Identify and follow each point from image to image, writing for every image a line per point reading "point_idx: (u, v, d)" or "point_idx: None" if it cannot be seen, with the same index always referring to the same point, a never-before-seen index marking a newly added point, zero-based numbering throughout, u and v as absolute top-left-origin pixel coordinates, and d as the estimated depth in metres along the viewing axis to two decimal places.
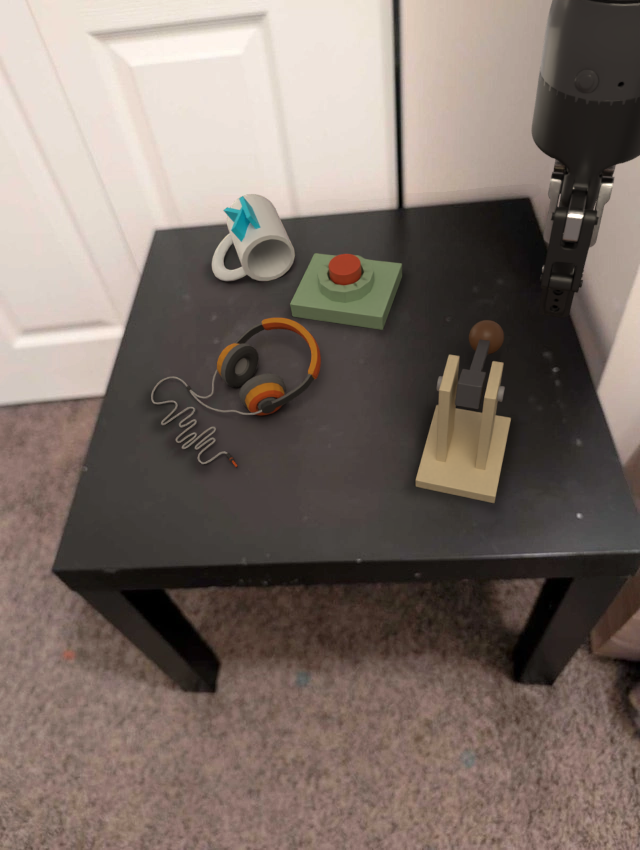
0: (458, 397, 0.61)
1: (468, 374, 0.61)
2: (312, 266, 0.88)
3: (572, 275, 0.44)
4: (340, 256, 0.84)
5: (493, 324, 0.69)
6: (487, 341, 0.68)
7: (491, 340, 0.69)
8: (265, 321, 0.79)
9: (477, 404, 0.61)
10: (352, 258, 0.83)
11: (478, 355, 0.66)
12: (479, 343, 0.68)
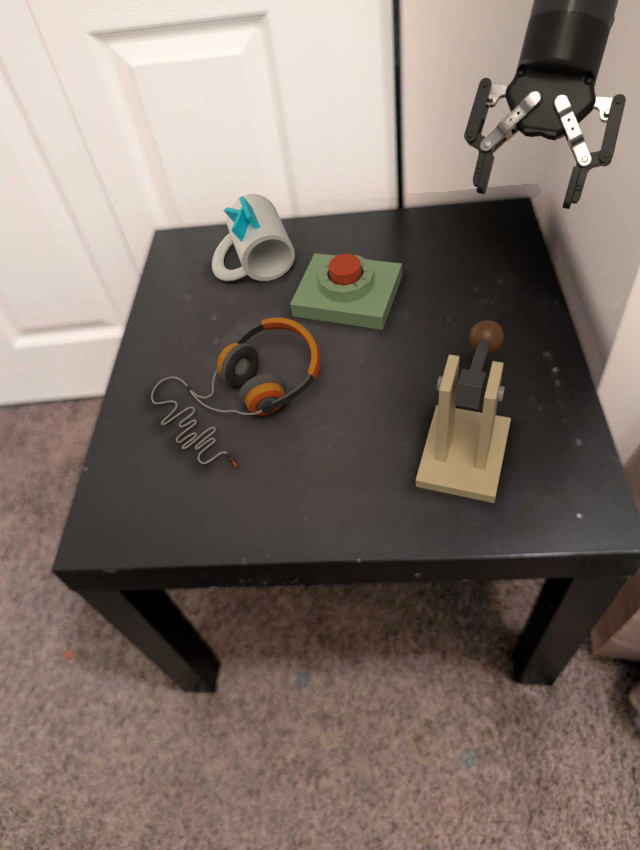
0: (458, 397, 0.61)
1: (468, 374, 0.61)
2: (312, 266, 0.88)
3: None
4: (340, 256, 0.84)
5: (493, 324, 0.69)
6: (487, 341, 0.68)
7: (491, 340, 0.69)
8: (265, 321, 0.79)
9: (477, 404, 0.61)
10: (352, 258, 0.83)
11: (478, 355, 0.66)
12: (479, 343, 0.68)
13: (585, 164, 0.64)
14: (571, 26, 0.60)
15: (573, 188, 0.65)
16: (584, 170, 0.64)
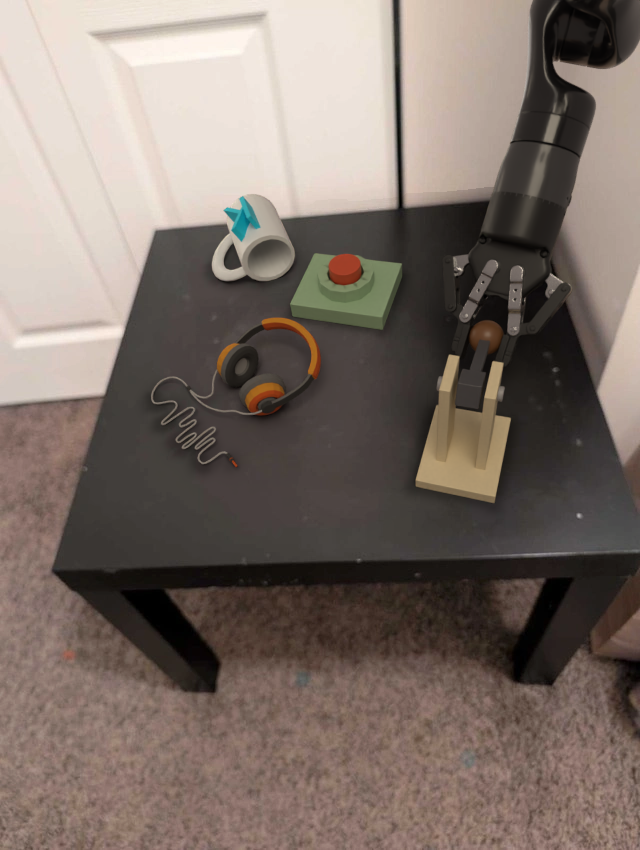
0: (458, 397, 0.61)
1: (468, 374, 0.61)
2: (312, 266, 0.88)
3: None
4: (340, 256, 0.84)
5: (493, 324, 0.69)
6: (487, 341, 0.68)
7: (491, 340, 0.69)
8: (265, 321, 0.79)
9: (477, 404, 0.61)
10: (352, 258, 0.83)
11: (478, 355, 0.66)
12: (479, 343, 0.68)
13: (511, 334, 0.68)
14: (525, 208, 0.64)
15: (502, 354, 0.69)
16: (513, 338, 0.69)
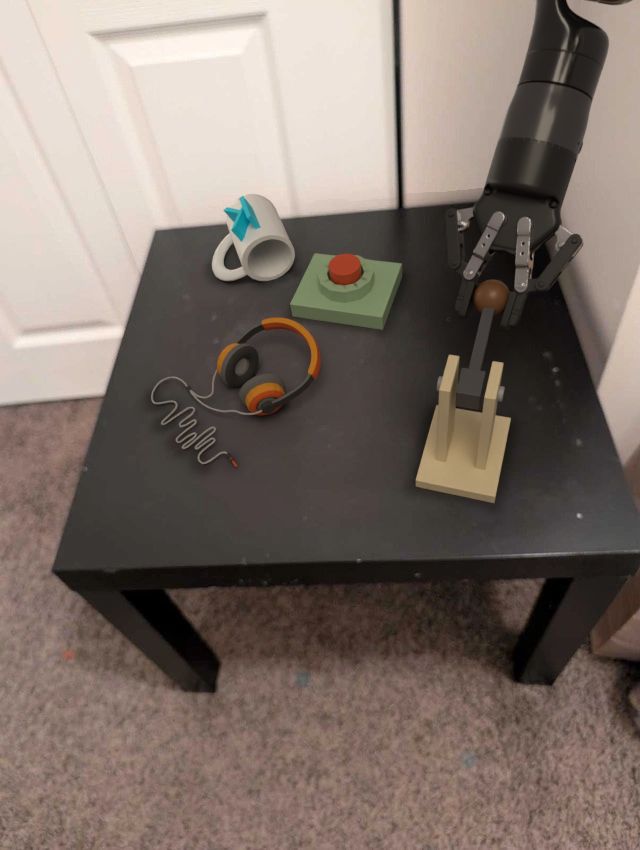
0: (458, 401, 0.62)
1: (467, 376, 0.61)
2: (312, 266, 0.88)
3: None
4: (340, 256, 0.84)
5: (497, 289, 0.65)
6: (491, 310, 0.65)
7: (495, 307, 0.65)
8: (265, 321, 0.79)
9: (477, 407, 0.61)
10: (352, 258, 0.83)
11: (481, 335, 0.64)
12: (482, 314, 0.65)
13: (519, 290, 0.64)
14: (533, 153, 0.60)
15: (509, 312, 0.65)
16: (521, 295, 0.65)
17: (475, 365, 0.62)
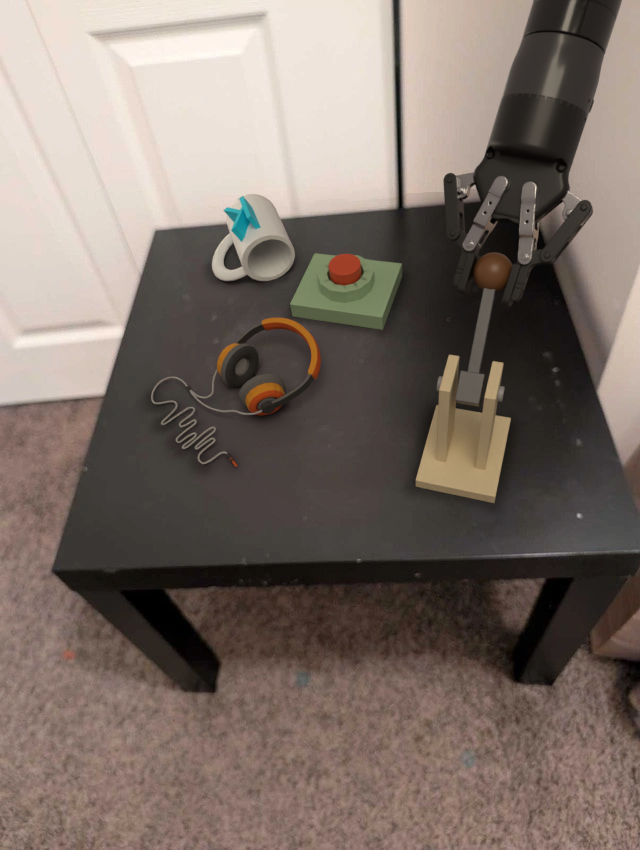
0: (459, 402, 0.62)
1: (466, 381, 0.61)
2: (312, 266, 0.88)
3: None
4: (340, 256, 0.84)
5: (498, 270, 0.60)
6: (492, 291, 0.61)
7: (497, 288, 0.61)
8: (265, 321, 0.79)
9: (478, 406, 0.62)
10: (352, 258, 0.83)
11: (481, 325, 0.61)
12: (483, 297, 0.62)
13: (523, 262, 0.59)
14: (540, 111, 0.55)
15: (512, 286, 0.60)
16: (525, 268, 0.60)
17: (475, 363, 0.61)
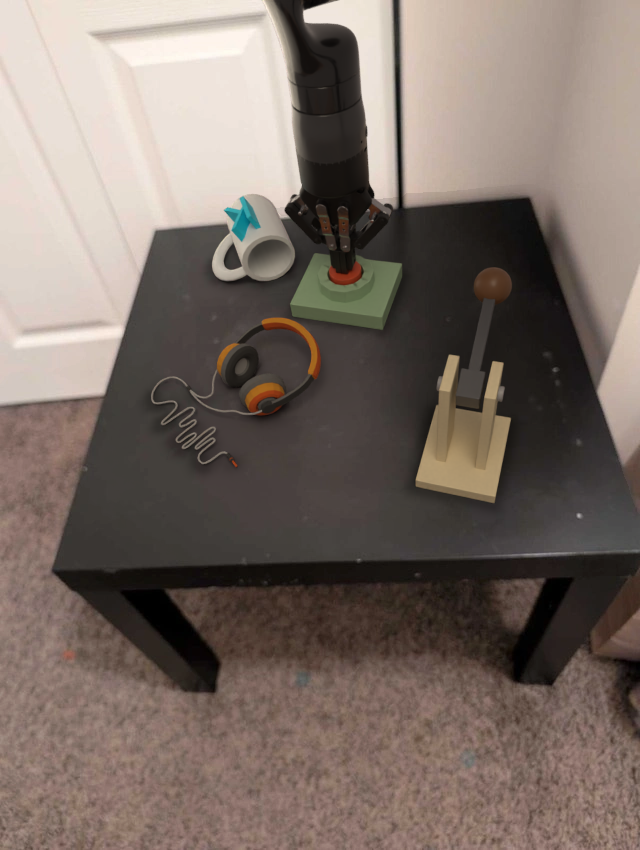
0: (458, 402, 0.62)
1: (467, 378, 0.61)
2: (312, 266, 0.88)
3: (318, 233, 0.79)
4: None
5: (498, 279, 0.63)
6: (492, 301, 0.64)
7: (496, 298, 0.64)
8: (265, 321, 0.79)
9: (477, 407, 0.62)
10: None
11: (481, 330, 0.63)
12: (483, 306, 0.64)
13: (344, 250, 0.79)
14: (326, 173, 0.69)
15: (345, 264, 0.81)
16: (348, 251, 0.80)
17: (475, 364, 0.62)
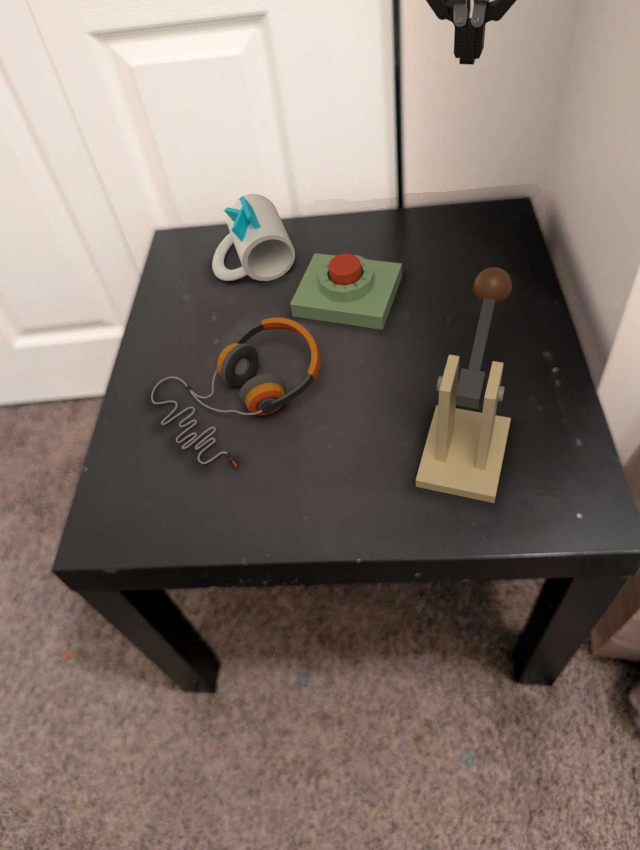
0: (458, 402, 0.62)
1: (467, 378, 0.61)
2: (312, 266, 0.88)
3: None
4: (340, 256, 0.84)
5: (498, 279, 0.63)
6: (492, 301, 0.64)
7: (496, 298, 0.64)
8: (265, 321, 0.79)
9: (477, 407, 0.62)
10: (352, 258, 0.83)
11: (481, 330, 0.63)
12: (483, 306, 0.64)
13: (475, 26, 0.66)
14: None
15: (472, 48, 0.68)
16: (480, 28, 0.66)
17: (475, 364, 0.62)
